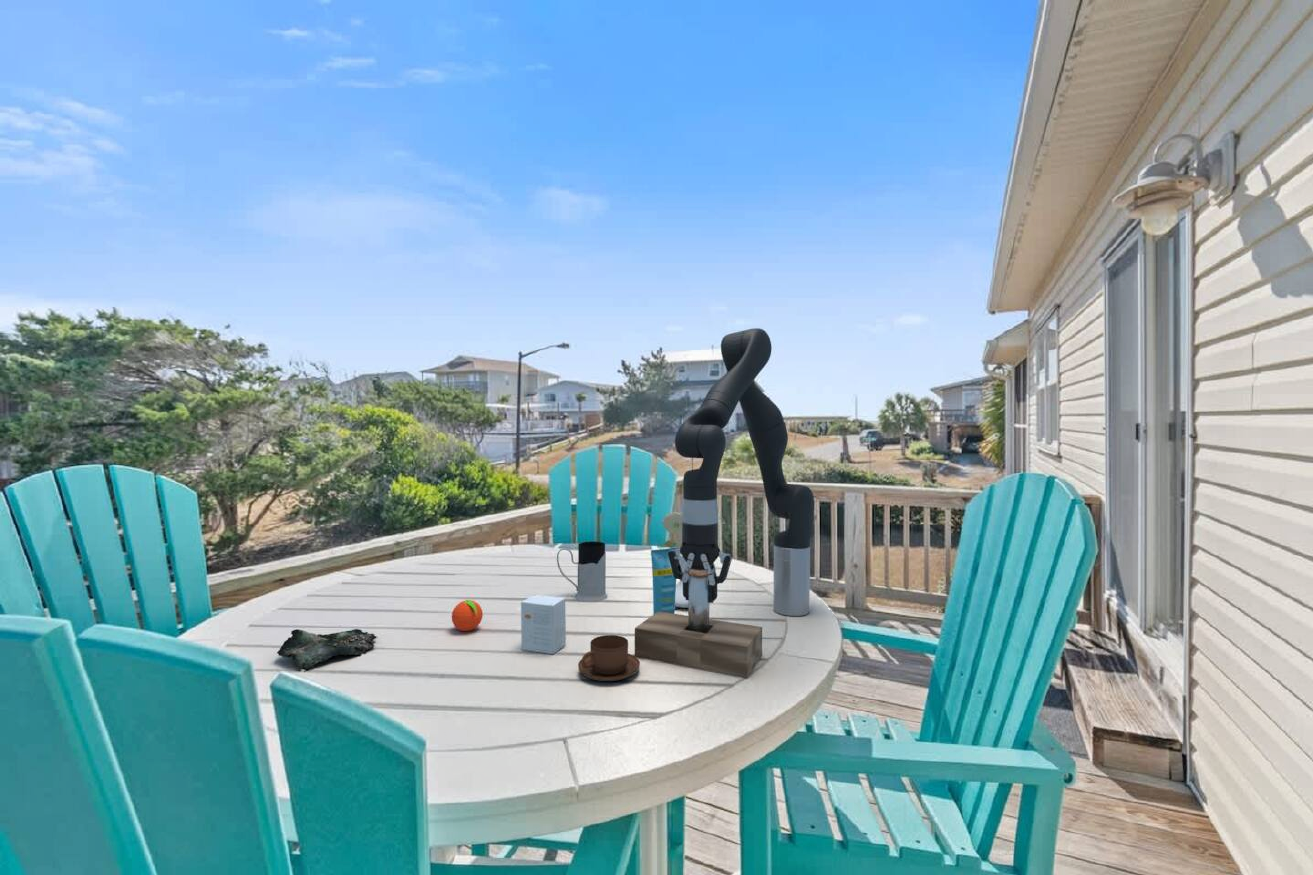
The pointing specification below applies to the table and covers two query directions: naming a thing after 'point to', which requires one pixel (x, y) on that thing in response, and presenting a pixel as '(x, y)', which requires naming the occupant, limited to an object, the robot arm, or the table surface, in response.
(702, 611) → the plug
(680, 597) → the flower in vase
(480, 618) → the clementine
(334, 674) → the table surface
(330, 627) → the table surface
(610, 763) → the table surface
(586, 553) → the glass holder
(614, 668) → the cup and saucer
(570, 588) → the table surface
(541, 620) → the small box
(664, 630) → the block
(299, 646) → the decorative rock
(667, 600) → the tube
